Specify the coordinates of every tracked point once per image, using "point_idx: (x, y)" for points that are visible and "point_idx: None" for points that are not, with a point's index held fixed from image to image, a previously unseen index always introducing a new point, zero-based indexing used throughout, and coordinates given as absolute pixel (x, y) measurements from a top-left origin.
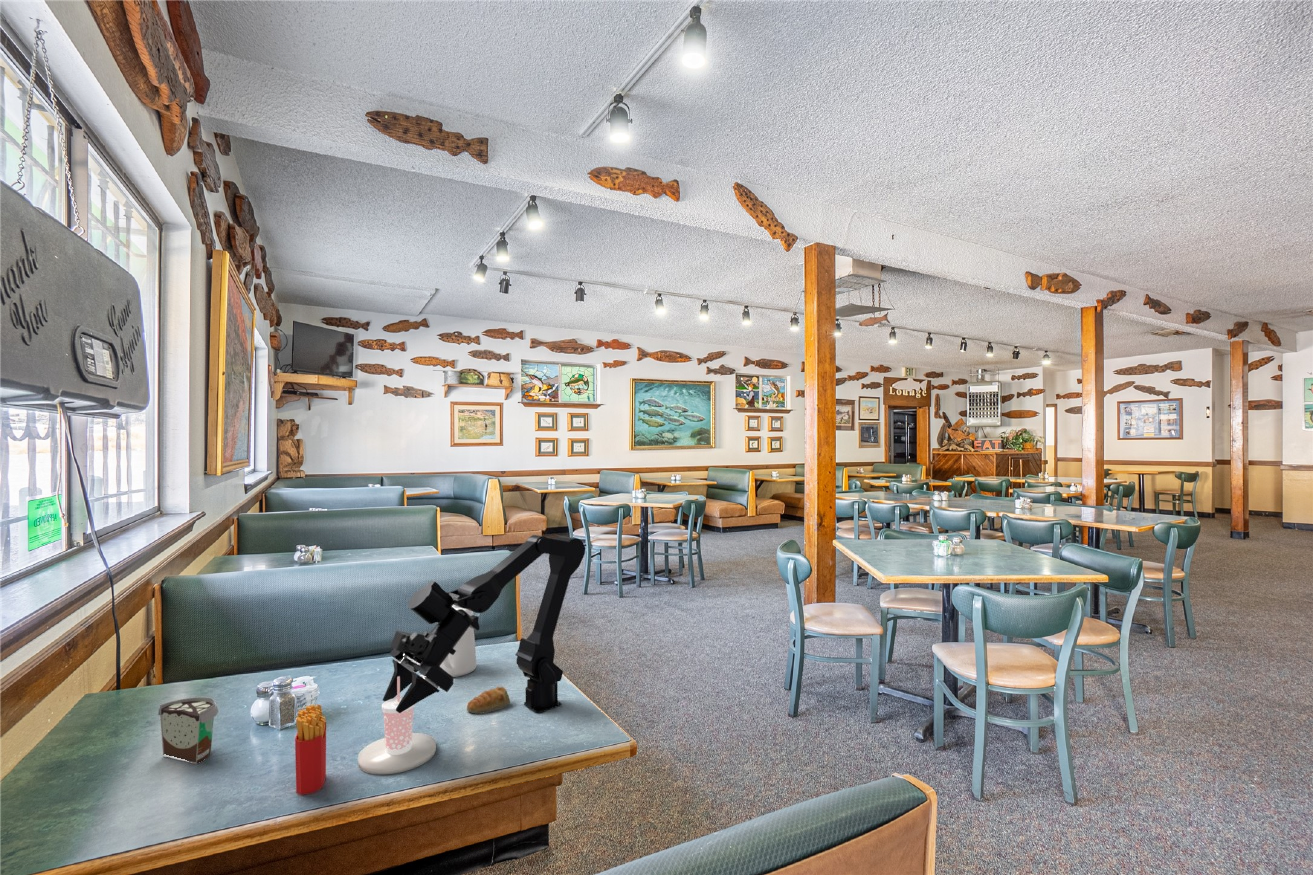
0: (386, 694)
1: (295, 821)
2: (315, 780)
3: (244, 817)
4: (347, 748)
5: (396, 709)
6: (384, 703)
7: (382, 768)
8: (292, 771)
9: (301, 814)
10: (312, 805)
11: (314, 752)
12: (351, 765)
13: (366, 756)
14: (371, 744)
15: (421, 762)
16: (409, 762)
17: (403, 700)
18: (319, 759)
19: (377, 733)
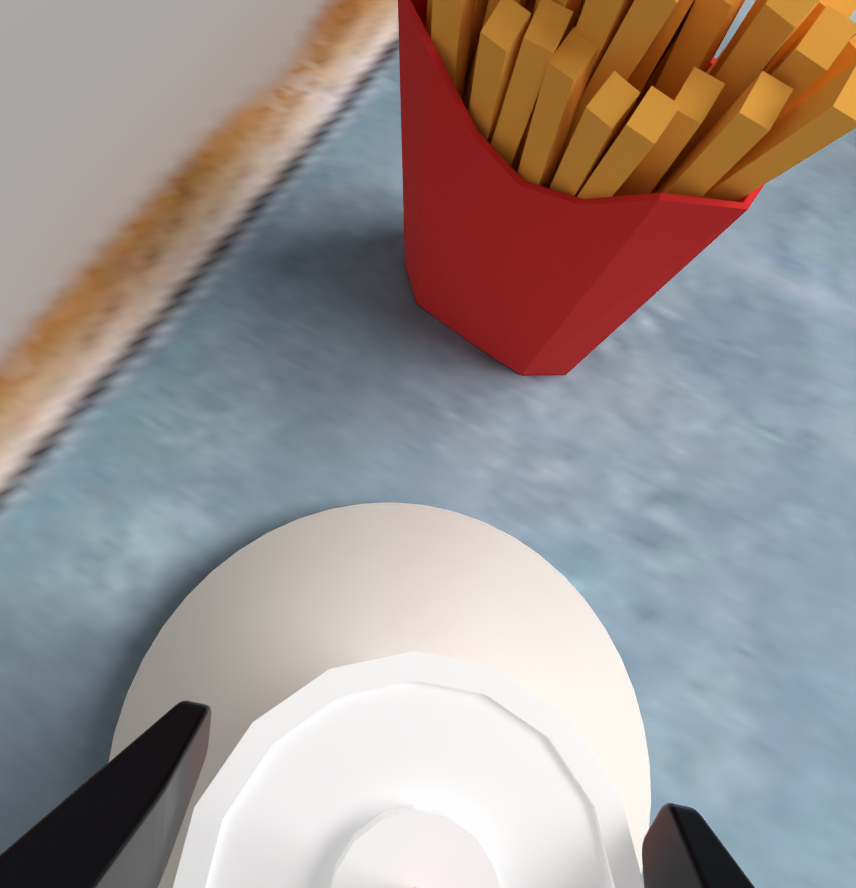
0: (701, 877)
1: (242, 116)
2: (407, 234)
3: None
4: (753, 617)
5: (186, 706)
6: (560, 751)
7: (247, 546)
8: (705, 315)
9: (272, 152)
10: (300, 207)
11: (402, 94)
12: (519, 512)
13: (478, 573)
14: (619, 695)
15: None
16: (137, 696)
17: (53, 816)
18: (418, 183)
19: (829, 878)
